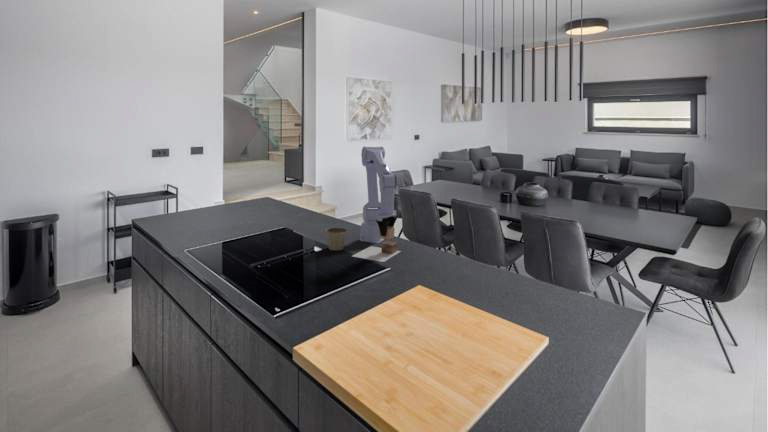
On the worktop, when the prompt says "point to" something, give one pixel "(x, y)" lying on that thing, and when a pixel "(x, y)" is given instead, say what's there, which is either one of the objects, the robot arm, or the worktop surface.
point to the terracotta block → (388, 233)
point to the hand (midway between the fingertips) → (386, 234)
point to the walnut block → (389, 247)
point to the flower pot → (336, 238)
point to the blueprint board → (374, 254)
